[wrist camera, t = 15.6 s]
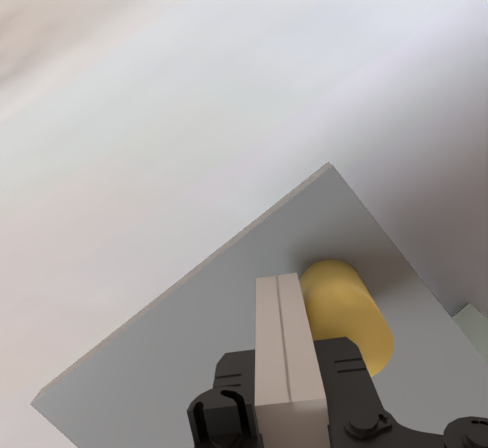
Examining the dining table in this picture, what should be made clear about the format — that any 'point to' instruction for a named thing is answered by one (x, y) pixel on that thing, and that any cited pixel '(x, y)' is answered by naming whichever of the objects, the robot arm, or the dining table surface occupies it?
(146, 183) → the dining table surface
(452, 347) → the cover
